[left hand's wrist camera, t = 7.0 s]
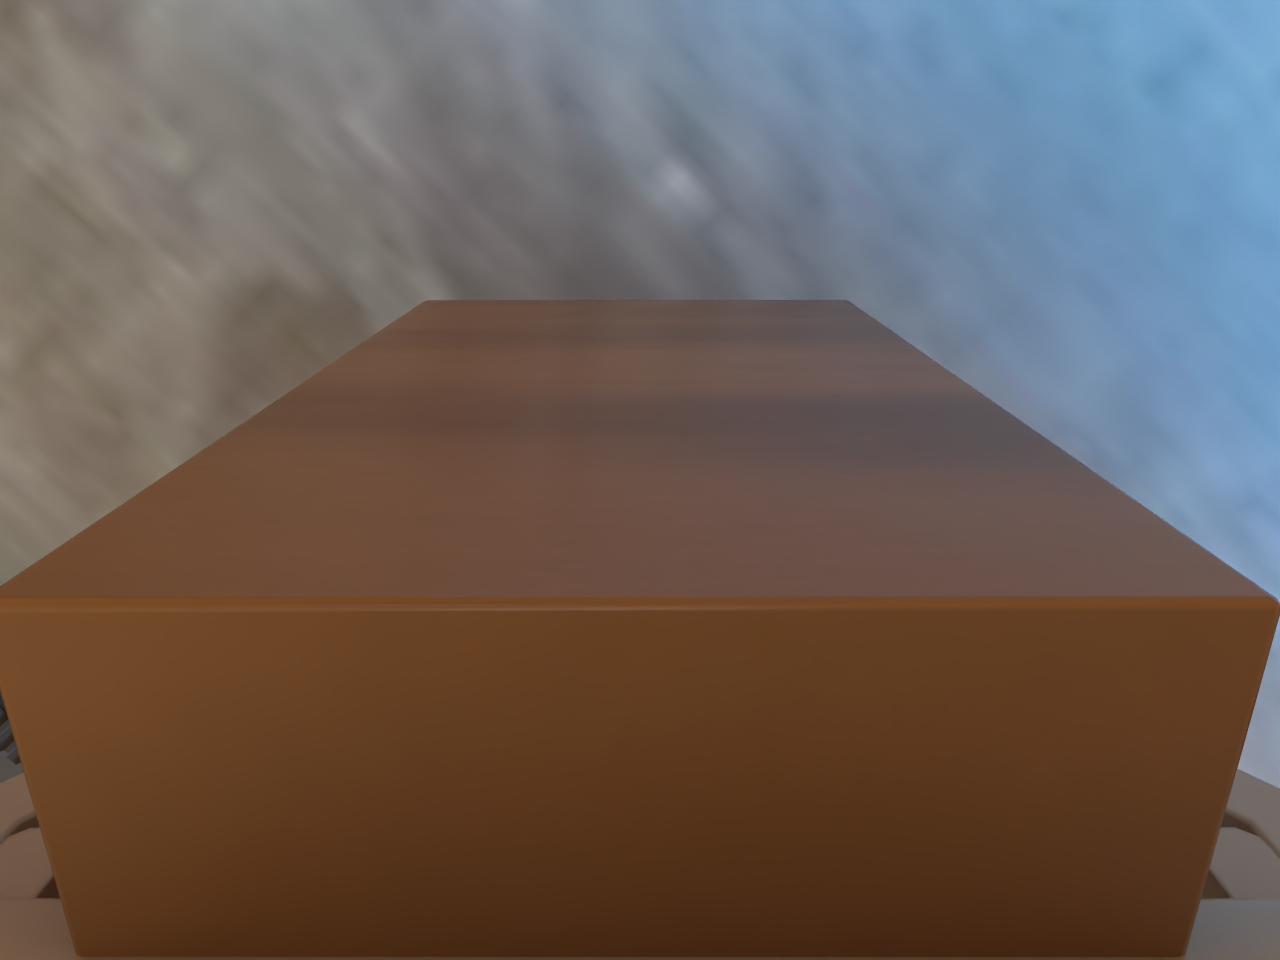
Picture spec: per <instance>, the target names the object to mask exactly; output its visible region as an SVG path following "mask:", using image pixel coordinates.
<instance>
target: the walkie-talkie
mask: <svg viewBox="0 0 1280 960" xmlns="http://www.w3.org/2000/svg"><path fill="white" fill-rule="evenodd" d="M23 772H24V771H23V768H22V764H21V761H20V757H19V754H18V751H17V747H16V744H15V740H14V737H13V733H12V730H11V726H10V723H9V719H8V716H7V712H6V709H5V705H4V702H3V698H2V695H1V691H0V783H1V782H4V781H6V780H8V779H10V778H12V777H14V776H17V775H19V774H21V773H23Z"/></svg>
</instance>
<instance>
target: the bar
mask: <svg viewBox="0 0 1280 960" xmlns="http://www.w3.org/2000/svg"><path fill="white" fill-rule="evenodd" d="M1279 616H1280V603H1279V602H1278V600H1277V598H1275V597H1274V596H1272V595H1271V594H1269V593H1268V592H1267V591H1265V590H1264V589H1262V588H1261V587H1259V586H1258V585H1256V584H1255V583H1254V582H1252V581H1251V580H1249V579H1248V578H1246V577H1245V576H1244V575H1242V574H1241V573H1239V572H1238V571H1236V570H1235V569H1233V568H1232V567H1231V566H1229V565H1228V564H1226V563H1225V562H1223V561H1222V560H1220V559H1219V558H1218V557H1216V556H1215V555H1213V554H1212V553H1210V552H1209V551H1208V550H1206V549H1205V548H1203V547H1202V546H1200V545H1199V544H1197V543H1196V542H1195V541H1193V540H1192V539H1190V538H1189V537H1187V536H1186V535H1185V534H1183V533H1182V532H1180V531H1179V530H1177V529H1176V528H1174V527H1173V526H1172V525H1170V524H1169V523H1167V522H1166V521H1164V520H1163V519H1161V518H1160V517H1159V516H1157V515H1156V514H1154V513H1153V512H1151V511H1150V510H1149V509H1147V508H1146V507H1144V506H1143V505H1141V504H1140V503H1138V502H1137V501H1136V500H1134V499H1133V498H1131V497H1130V496H1128V495H1127V494H1126V493H1124V492H1123V491H1121V490H1120V489H1118V488H1117V487H1115V486H1114V485H1113V484H1111V483H1110V482H1108V481H1107V480H1105V479H1104V478H1102V477H1101V476H1100V475H1098V474H1097V473H1095V472H1094V471H1092V470H1091V469H1090V468H1088V467H1087V466H1085V465H1084V464H1082V463H1081V462H1079V461H1078V460H1077V459H1075V458H1074V457H1072V456H1071V455H1069V454H1068V453H1067V452H1065V451H1064V450H1062V449H1061V448H1059V447H1058V446H1056V445H1055V444H1054V443H1052V442H1051V441H1049V440H1048V439H1046V438H1045V437H1043V436H1042V435H1041V434H1039V433H1038V432H1036V431H1035V430H1033V429H1032V428H1031V427H1029V426H1028V425H1026V424H1025V423H1023V422H1022V421H1020V420H1019V419H1018V418H1016V417H1015V416H1013V415H1012V414H1010V413H1009V412H1008V411H1006V410H1005V409H1003V408H1002V407H1000V406H999V405H997V404H996V403H995V402H993V401H992V400H990V399H989V398H987V397H986V396H984V395H983V394H982V393H980V392H979V391H977V390H976V389H974V388H973V387H972V386H970V385H969V384H967V383H966V382H964V381H963V380H961V379H960V378H959V377H957V376H956V375H954V374H953V373H951V372H950V371H949V370H947V369H946V368H944V367H943V366H941V365H940V364H938V363H937V362H936V361H934V360H933V359H931V358H930V357H928V356H927V355H925V354H924V353H923V352H921V351H920V350H918V349H917V348H915V347H914V346H913V345H911V344H910V343H908V342H907V341H905V340H904V339H902V338H901V337H900V336H898V335H897V334H895V333H894V332H892V331H891V330H889V329H888V328H887V327H885V326H884V325H882V324H881V323H879V322H878V321H877V320H875V319H874V318H872V317H871V316H869V315H868V314H866V313H865V312H864V311H862V310H861V309H859V308H858V307H856V306H855V305H854V304H852V303H851V302H849V301H847V300H427V301H425V302H423V303H421V304H420V305H418V306H417V307H415V308H414V309H412V310H411V311H410V312H408V313H407V314H405V315H404V316H402V317H401V318H399V319H398V320H396V321H395V322H393V323H392V324H390V325H389V326H387V327H386V328H384V329H383V330H381V331H380V332H378V333H377V334H375V335H374V336H372V337H371V338H369V339H368V340H366V341H365V342H363V343H362V344H360V345H359V346H357V347H356V348H354V349H353V350H351V351H350V352H348V353H347V354H345V355H344V356H342V357H341V358H340V359H338V360H337V361H335V362H334V363H332V364H331V365H329V366H328V367H326V368H325V369H323V370H322V371H320V372H319V373H317V374H316V375H314V376H313V377H311V378H310V379H308V380H307V381H305V382H304V383H302V384H301V385H299V386H298V387H296V388H295V389H293V390H292V391H290V392H289V393H287V394H286V395H284V396H283V397H281V398H280V399H278V400H277V401H275V402H274V403H272V404H271V405H270V406H268V407H267V408H265V409H264V410H262V411H261V412H259V413H258V414H256V415H255V416H253V417H252V418H250V419H249V420H247V421H246V422H244V423H243V424H241V425H240V426H238V427H237V428H235V429H234V430H232V431H231V432H229V433H228V434H226V435H225V436H223V437H222V438H220V439H219V440H217V441H216V442H214V443H213V444H211V445H210V446H208V447H207V448H205V449H204V450H202V451H201V452H200V453H198V454H197V455H195V456H194V457H192V458H191V459H189V460H188V461H186V462H185V463H183V464H182V465H180V466H179V467H177V468H176V469H174V470H173V471H171V472H170V473H168V474H167V475H165V476H164V477H162V478H161V479H159V480H158V481H156V482H155V483H153V484H152V485H150V486H149V487H147V488H146V489H144V490H143V491H141V492H140V493H138V494H137V495H135V496H134V497H132V498H131V499H130V500H128V501H127V502H125V503H124V504H122V505H121V506H119V507H118V508H116V509H115V510H113V511H112V512H110V513H109V514H107V515H106V516H104V517H103V518H101V519H100V520H98V521H97V522H95V523H94V524H92V525H91V526H89V527H88V528H86V529H85V530H83V531H82V532H80V533H79V534H77V535H76V536H74V537H73V538H71V539H70V540H68V541H67V542H65V543H64V544H62V545H61V546H60V547H58V548H57V549H55V550H54V551H52V552H51V553H49V554H48V555H46V556H45V557H43V558H42V559H40V560H39V561H37V562H36V563H34V564H33V565H31V566H30V567H28V568H27V569H25V570H24V571H22V572H21V573H19V574H18V575H16V576H15V577H13V578H12V579H10V580H9V581H7V582H6V583H4V584H3V585H1V586H0V691H1V695H2V698H3V702H4V705H5V709H6V712H7V716H8V719H9V723H10V726H11V730H12V733H13V737H14V740H15V744H16V747H17V751H18V754H19V757H20V761H21V764H22V768H23V771H24V775H25V778H26V782H27V785H28V789H29V792H30V796H31V799H32V803H33V806H34V810H35V813H36V816H37V820H38V823H39V827H40V830H41V834H42V837H43V841H44V844H45V848H46V851H47V855H48V858H49V862H50V865H51V869H52V872H53V875H54V879H55V882H56V886H57V889H58V893H59V896H60V900H61V903H62V907H63V910H64V914H65V917H66V921H67V924H68V928H69V931H70V934H71V938H72V941H73V945H74V948H75V952H76V955H79V956H81V957H1181V956H1184V955H1185V954H1186V951H1187V947H1188V944H1189V940H1190V936H1191V933H1192V929H1193V926H1194V922H1195V918H1196V915H1197V911H1198V908H1199V904H1200V900H1201V897H1202V893H1203V890H1204V886H1205V882H1206V879H1207V875H1208V872H1209V868H1210V864H1211V861H1212V857H1213V853H1214V850H1215V846H1216V843H1217V839H1218V835H1219V832H1220V828H1221V825H1222V821H1223V817H1224V814H1225V810H1226V807H1227V803H1228V799H1229V796H1230V792H1231V789H1232V785H1233V781H1234V778H1235V774H1236V771H1237V767H1238V763H1239V760H1240V756H1241V753H1242V749H1243V745H1244V742H1245V738H1246V735H1247V731H1248V727H1249V724H1250V720H1251V717H1252V713H1253V709H1254V706H1255V702H1256V699H1257V695H1258V691H1259V688H1260V684H1261V681H1262V677H1263V673H1264V670H1265V666H1266V663H1267V659H1268V655H1269V652H1270V648H1271V645H1272V641H1273V637H1274V634H1275V630H1276V627H1277V623H1278V619H1279Z"/></svg>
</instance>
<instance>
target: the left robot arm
mask: <svg viewBox="0 0 1280 960" xmlns="http://www.w3.org/2000/svg"><path fill="white" fill-rule="evenodd" d="M0 960H1280V789H1279V788H1277V787H1275V786H1273V785H1271V784H1269V783H1267V782H1264V781H1262V780H1260V779H1258V778H1256V777H1254V776H1252V775H1250V774H1247V773H1245V772H1243V771H1241V770H1239V769H1237V771H1236V774H1235V778H1234V781H1233V785H1232V789H1231V792H1230V796H1229V799H1228V803H1227V807H1226V810H1225V814H1224V817H1223V821H1222V825H1221V828H1220V832H1219V835H1218V839H1217V843H1216V846H1215V850H1214V853H1213V857H1212V861H1211V864H1210V868H1209V872H1208V875H1207V879H1206V882H1205V886H1204V890H1203V893H1202V897H1201V900H1200V904H1199V908H1198V911H1197V915H1196V918H1195V922H1194V926H1193V929H1192V933H1191V936H1190V940H1189V944H1188V947H1187V951H1186V954H1185V955H1184V956H1181V957H81V956H79V955H76V952H75V948H74V945H73V941H72V938H71V934H70V931H69V928H68V924H67V921H66V917H65V914H64V910H63V907H62V903H61V900H60V896H59V893H58V889H57V886H56V882H55V879H54V875H53V872H52V869H51V865H50V862H49V858H48V855H47V851H46V848H45V844H44V841H43V837H42V834H41V830H40V827H39V823H38V820H37V816H36V813H35V810H34V806H33V803H32V799H31V796H30V792H29V789H28V785H27V782H26V778H25V775H24V772H23V773H21V774H19V775H17V776H14V777H12V778H10V779H8V780H6V781H4V782H1V783H0Z"/></svg>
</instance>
